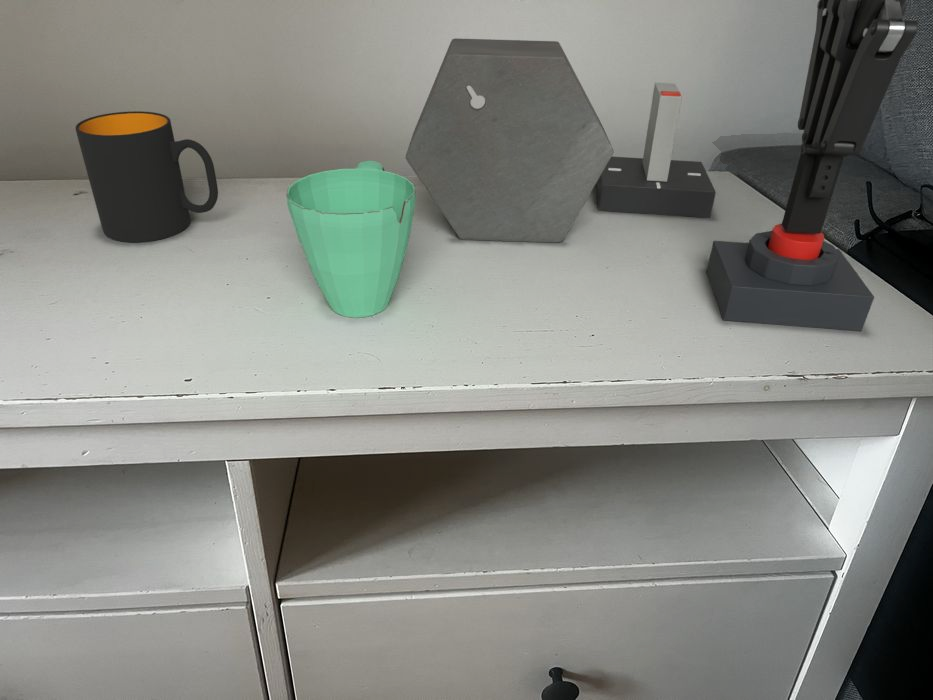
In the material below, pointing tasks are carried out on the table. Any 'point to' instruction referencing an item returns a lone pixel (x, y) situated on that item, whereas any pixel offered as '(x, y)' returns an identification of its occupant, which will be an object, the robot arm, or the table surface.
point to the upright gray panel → (661, 131)
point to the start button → (795, 243)
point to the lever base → (655, 189)
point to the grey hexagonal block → (508, 141)
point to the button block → (787, 286)
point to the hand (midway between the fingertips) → (800, 228)
